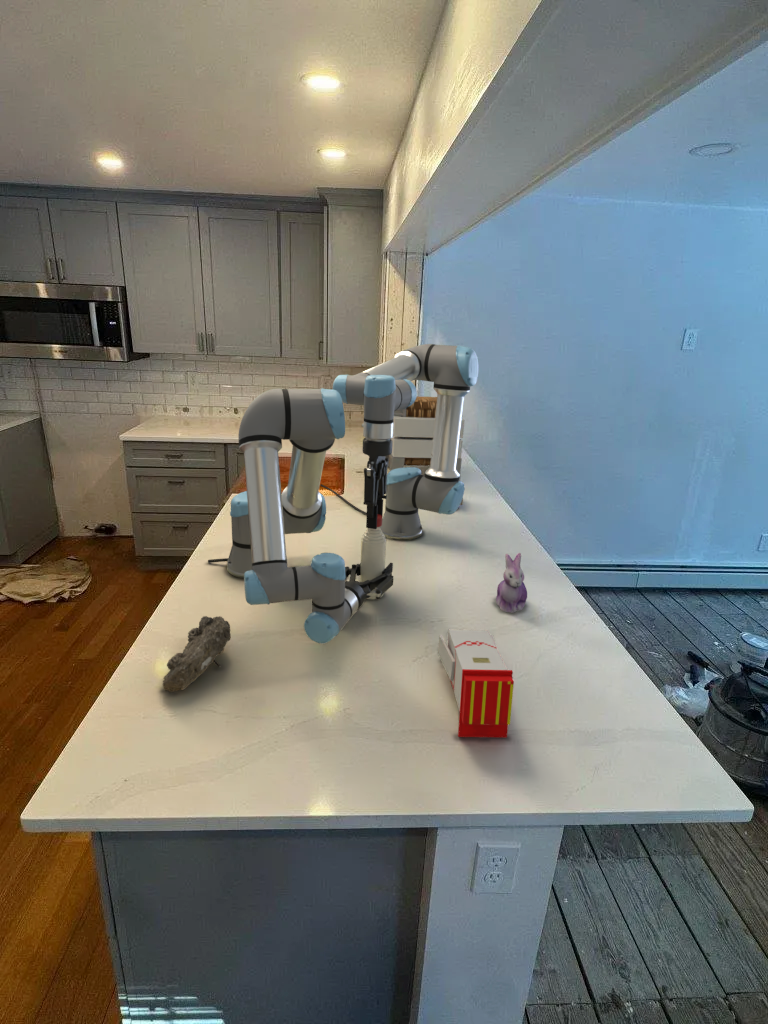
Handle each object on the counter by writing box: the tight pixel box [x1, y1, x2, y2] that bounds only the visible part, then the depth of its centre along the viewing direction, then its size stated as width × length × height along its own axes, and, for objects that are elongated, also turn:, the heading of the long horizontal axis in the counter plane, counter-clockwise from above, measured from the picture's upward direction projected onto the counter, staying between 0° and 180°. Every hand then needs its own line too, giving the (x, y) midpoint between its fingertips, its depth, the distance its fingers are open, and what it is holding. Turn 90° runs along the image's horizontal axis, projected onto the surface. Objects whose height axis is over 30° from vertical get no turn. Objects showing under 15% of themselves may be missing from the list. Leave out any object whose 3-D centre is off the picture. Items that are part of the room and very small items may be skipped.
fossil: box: [162, 615, 232, 693], centre depth 122 cm, size 22×10×15 cm
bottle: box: [359, 527, 387, 600], centre depth 154 cm, size 7×7×23 cm
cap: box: [377, 514, 383, 527], centre depth 150 cm, size 4×4×2 cm
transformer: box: [385, 395, 465, 481], centre depth 268 cm, size 34×33×41 cm
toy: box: [437, 628, 515, 738], centre depth 117 cm, size 12×13×30 cm
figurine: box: [495, 552, 528, 614], centre depth 152 cm, size 9×10×15 cm
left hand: (379, 564), depth 160 cm, fingers closed on bottle, 7 cm apart
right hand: (374, 524), depth 150 cm, fingers closed on cap, 4 cm apart
